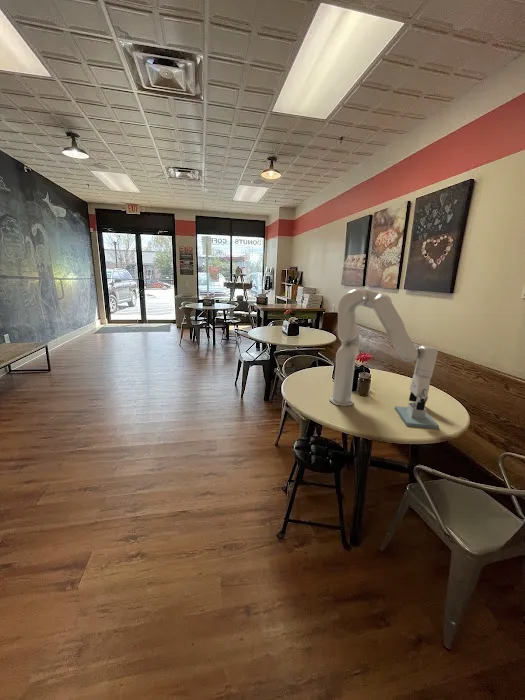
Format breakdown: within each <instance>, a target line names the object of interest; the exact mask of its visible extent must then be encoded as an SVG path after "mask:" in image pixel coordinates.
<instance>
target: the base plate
mask: <svg viewBox="0 0 525 700" xmlns="http://www.w3.org/2000/svg"><path fill="white" fill-rule="evenodd" d="M394 410H395V411H396V413H397V414H398V417H400V419H401V420H402V421H403V423H404V425H405V426H406V427H412V428H413V427H414V428H416V427H417V428H424V429H425V428H426V429H433V428H435V429H436V430H438V429H439V428H440V425H439V424H438V422H436V420H435V419H434V418H432V416H431V415H430V414H429V413H428V412H427V411H426V415H425V419H420V418H411V416H410V415H409V414H408V413H407V410H408V406H399V405H397V406H396V405H395V406H394ZM435 429H434V430H435ZM439 430H440V429H439Z"/></svg>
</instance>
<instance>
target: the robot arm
mask: <svg viewBox="0 0 525 700" xmlns="http://www.w3.org/2000/svg"><path fill="white" fill-rule="evenodd" d="M392 301H393V300H392V298H391V297H390V296H389V295H388V294H384V293H380V292H376V291H372V290H370V289H369V290H368V289H366V288H365V289H364V288H355V289H351V290H350V291H348V292H346V293H345V294H344V295H343V296H342V297H341V298H340V300H339V302H338V307H337V337H338V340H339V341H341V346H339V347H338V349H337V351H336V354H335V369H334V370H335V371H334V379H333V380H334V381H333V388H332V390H333V391H332V395H330V396H329V402H330V401H331V402H332V403H331V402H330V403H331V404H333V405H336V406H339V405H340V406H341V407H349V406H352V405H354V399H352V390H353V382H354V376H355V375H354V374H355V365H356V364H355V362H356V358H357V357H358V355H359V353H360V328H359V325H358V324H357V323H356V309H357V308H358V307H364V308H368V309H372V310H373V312H374V313H375V314H376V316H377V318H378V319H379V322H380V323H381V325H382V326H383V328H384V330H385V332H386V334H387V336H388V338H389V339H390V342H391V343H392V345H393V348H394V349H395V351H396V352H397V354H398V356H399V357H400V359H402V360H403V361H405V362H407V363H410V362H414V361H416V363H415V366H414V371H413V375H412V378H411V382H410V386H409V390H410V394H409V398H408V401H410V402H412V401H414V402H416V399H417V397H418V398H419V402H418V403H417V407H416V409H417V410H424V407H425V405H426V403H427V401H428V399H429V391H430V384H431V379H432V377H433V373H434V370H435V366H436V361H437V356H438V353H439V350H438V348H437V347H435V346H430V345H422V344H419V343H415V342H413V341H412V339H411V338H410V337H409V335H408V333H407V330H406V327H405V324H404V321H403V319H402V317H401V316H400V314H399V313H398V310H397V308H395V306H394V304H393V302H392ZM420 395H423V396H420ZM421 398H422V399H421ZM425 408H426V407H425Z"/></svg>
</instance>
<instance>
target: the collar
mask: <svg viewBox="0 0 525 700" xmlns="http://www.w3.org/2000/svg"><path fill="white" fill-rule="evenodd" d="M407 407H408V410H407V413H408V414H409V415H410V416H411V418H420V419H425V415H426V412H427V408H426V407H424V410H417V409H416V407H417V403H412V402H408V406H407Z"/></svg>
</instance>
